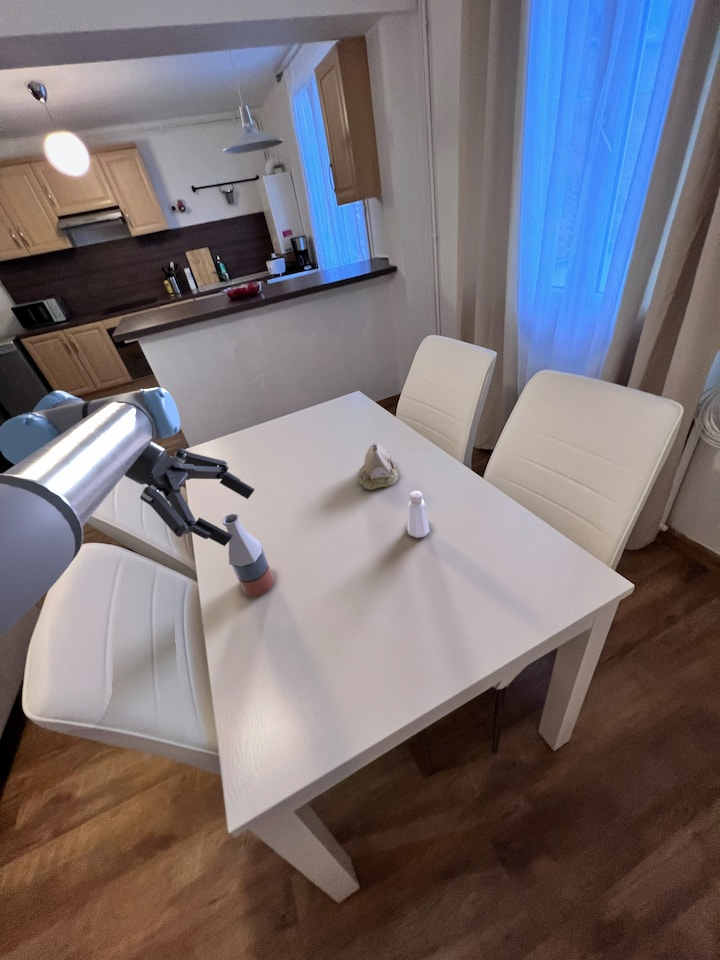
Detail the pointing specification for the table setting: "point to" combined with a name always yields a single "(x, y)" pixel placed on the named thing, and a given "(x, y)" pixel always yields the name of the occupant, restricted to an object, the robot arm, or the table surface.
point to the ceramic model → (377, 468)
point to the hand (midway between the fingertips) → (240, 516)
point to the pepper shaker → (417, 516)
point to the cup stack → (255, 576)
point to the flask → (241, 543)
